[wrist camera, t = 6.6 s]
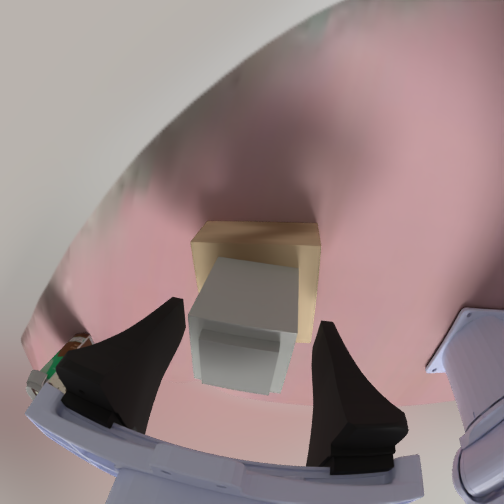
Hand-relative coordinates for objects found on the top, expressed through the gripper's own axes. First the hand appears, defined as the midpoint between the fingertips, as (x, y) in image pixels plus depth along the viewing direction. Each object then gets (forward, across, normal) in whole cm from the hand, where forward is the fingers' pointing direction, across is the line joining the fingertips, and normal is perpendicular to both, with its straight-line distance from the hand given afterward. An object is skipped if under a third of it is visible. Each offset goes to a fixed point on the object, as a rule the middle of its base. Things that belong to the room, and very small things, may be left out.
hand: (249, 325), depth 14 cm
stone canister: (+2, 0, 0) cm, 2 cm away
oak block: (+6, 0, 0) cm, 6 cm away
